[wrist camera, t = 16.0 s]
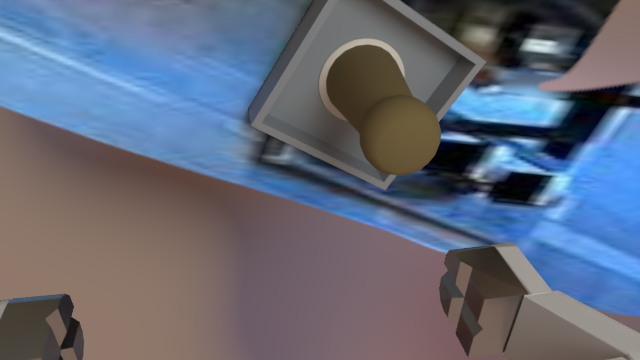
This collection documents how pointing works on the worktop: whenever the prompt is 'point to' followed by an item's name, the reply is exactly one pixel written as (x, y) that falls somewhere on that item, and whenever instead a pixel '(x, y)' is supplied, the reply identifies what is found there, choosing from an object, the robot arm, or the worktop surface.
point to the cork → (383, 110)
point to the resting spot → (336, 54)
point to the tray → (321, 41)
